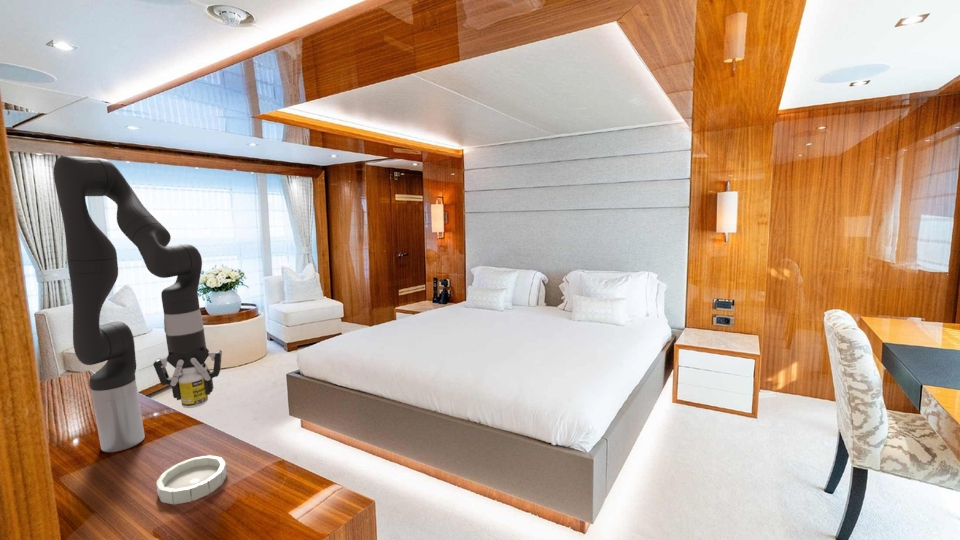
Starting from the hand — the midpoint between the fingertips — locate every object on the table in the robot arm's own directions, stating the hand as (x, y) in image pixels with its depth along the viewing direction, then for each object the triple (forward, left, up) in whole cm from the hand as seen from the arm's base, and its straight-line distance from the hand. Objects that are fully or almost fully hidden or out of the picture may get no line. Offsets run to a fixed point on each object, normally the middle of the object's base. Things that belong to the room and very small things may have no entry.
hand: (194, 395), depth 106 cm
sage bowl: (+8, -4, -18) cm, 20 cm away
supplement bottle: (0, 0, -2) cm, 2 cm away
